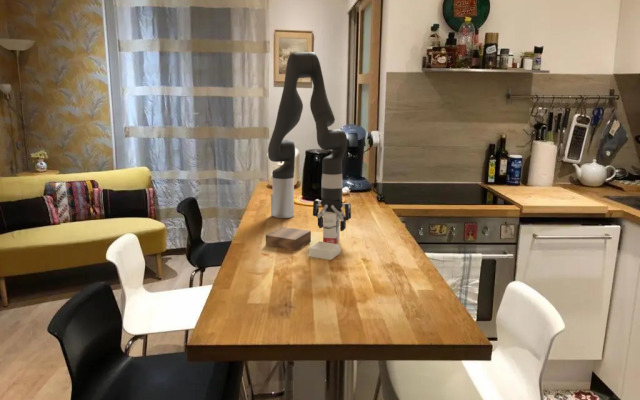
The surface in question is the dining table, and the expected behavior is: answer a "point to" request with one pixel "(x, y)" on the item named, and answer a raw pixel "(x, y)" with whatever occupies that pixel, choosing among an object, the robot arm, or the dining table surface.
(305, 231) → the walnut slab
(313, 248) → the white square block
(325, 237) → the ink box
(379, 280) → the dining table surface
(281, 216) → the robot arm
